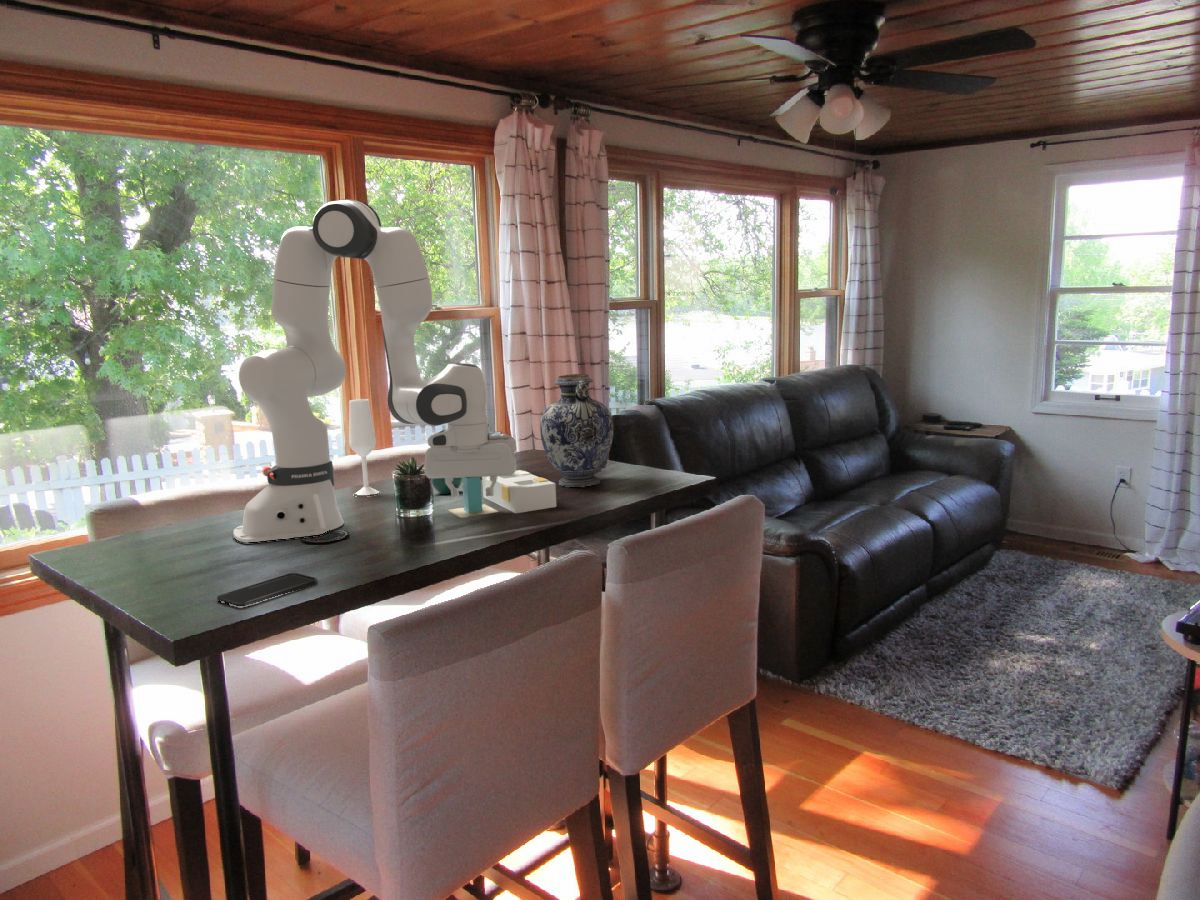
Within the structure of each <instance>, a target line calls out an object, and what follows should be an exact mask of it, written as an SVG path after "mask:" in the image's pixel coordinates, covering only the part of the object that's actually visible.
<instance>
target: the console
mask: <svg viewBox="0 0 1200 900" xmlns="http://www.w3.org/2000/svg"><path fill="white" fill-rule="evenodd" d="M492 482H493V481H490V477H482V478H481V483H482V484H481V485H482V496H483V498H485V499H486V500H488V501H490V502H492V503H494V504H496V505H498V506H501V507H503V508H504V509H506V510H508V511H510V512H512V513H514V514H520V513H526V512H532V511H533V512H534V511H537V510H538V511H539V510H546V509H551V508H556V507H557V494H556V493H557V492H556V490H557V489H556V483H555V482H553V481H550V480H549V479H547V478H544V477H539V476H537V475H535V474H532V473H531V472H528V471H526V470H522V469H519V470H517V469H516V471H515V473H514V474H513V475H512V476H498V480H497V482H496V484H495V485H494V487H493V491H494V495H493V496H486V488H487V487H490V486H491V484H492Z"/></svg>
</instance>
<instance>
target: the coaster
mask: <svg viewBox="0 0 1200 900" xmlns="http://www.w3.org/2000/svg"><path fill="white" fill-rule="evenodd" d="M447 511H448V512H450V513H452V514H454V515H455V516H457V517H458V518H461V519H463V518H469V517H475V516H482V515H488V514H494V513H499V512H500V511H498V510H497V509H495V508H493V507H491V506H489V505H488V504H486V503H485V504H483V503H482V511H480V512H473V513H468V512H466V511H464V506H463V507H457V508H451V509H447Z"/></svg>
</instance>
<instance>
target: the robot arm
mask: <svg viewBox="0 0 1200 900" xmlns="http://www.w3.org/2000/svg"><path fill="white" fill-rule="evenodd" d="M312 219H313V220H312V225H311V226H303V225H301V226H299V225H298V226H294V227H291V228H288V229H287V230H285V231H284V232H283V233H282V236H281V239H280V242H279V246H278V249H277V254H276V257H275V264H274V272H273V282H272V283H273V284H272V298H271V310H270V311H271V316H272V318H273V320H274V322H276V323H277V324H278V325H279V326H280V327H282V329H283V331H284V334H285V340H286V346H285V347H284V348H283V347H282V348H272V349H265V350H262V351H259V352H256V353H253V354H252V355H250V356H248V357H246V358H244V360H243V361H242V363H241V365H240V367H239V371H238V380H239V385H240V388H241V389H242V391H243V392H244V394H245V395H246V396H247V397H248V398H249V399H251V401H253V402H254V403H256V404H257V405H258V406H259V408H260V409H261V410H262V412H263V414H264V416H265V417H266V419H267V421H268V424H269V426H270V427H269V428H270V431H271V434H272V441H273V449H274V455H275V465H274V466H273V467H271V466H269V465H268V466H267V465H266V466H264V467H263V469H262V474H263V475H264V477H266V478H267V483H268V484H267V485H266V486H265V487H264V488H263V489H262V490H261V491H259V492H258V493H257V494H256V495H255V496H254V497H253V498H251V499H250V500H249V501H248V502H247V503H246V505H245V506H244V510H243V516H242V525H239V526H237V527H236V528H234V530H232V531H233V532H232V535H234V537H235V538H236V539H237V540H239V541H243V542H258V541H266V540H273V539H282V538H293V537H302V536H310V535H319V534H323V533H325V532H326V533H327V531H328V532H330V531H333V530H336V529H338V528H340V527H342V526H343V525H344V519H343V517H342V515H341V512H340V509H339V505H338V502H337V501H338V500H337V498H336V493H335V487H334V486H335V481H336V480H335V471H334V465H333V461H332V460H331V457H330V456H331V455H330V453H331V452H330V446H329V445H330V444H329V443H330V442H329V434H328V433H329V431H328V427H327V425H326V424H325V423H324V421H322V420H321V419H320V418H317V417H316V416H315V415H314V413H313V411H312V408H311V406H310V403H309V401H308V399H309V398H313V397H319V396H323V395H326V394H328V393H330V392H333V391H334V390H337V389H338V388H340V387H341V386H342V385H343V383H344V381H345V379H346V375H347V368H346V367H347V366H346V363H345V361H344V357H342V355H341V353H339V352H338V351H337V350H336V348H335V346H334V344H333V341H332V338H331V335H330V329H329V328H330V327H329V306H330V305H329V304H330V302H329V301H330V291H331V280H332V279H331V275H332V268H333V266H334V262H335V261H336V259H337V258H338V257H340V258H349V259H355V260H363V259H364V260H365V261H366V262H367V264H368V265H369V268H370V270H371V274H372V277H373V278H372V279H373V282H374V285H375V290H376V294H377V300H378V304H379V308H380V314H381V329H382V336H383V337H382V338H383V343H384V349H385V350H384V351H385V355H386V363H387V367H388V368H387V369H388V376H389V386H388V395H387V407H388V409H389V412H390V414H391V415H392V417H394V419H395V420H397V421H398V422H399V423H401V424H405V425H421V426H430V427H439V426H441V425H444V424H445V425H446V424H447V428H446V429H443V430H440V431H438V432H436V433H433V434H432V435H430V436H429V437H428V438H427V445H428V448H427V449H426V451H425V456H424V475H425V476H426V477H427V478H428V479H430V478H445V483H446V485H447V486H448V487H449V489H450V490H451V494H450V497H451V498H458V497H460V492H459V491H460V487H459V488H455V487H454V485H453V484H452V481H453V478H460V477H490V481H493V482H492V484H491V486H490V487H487V488H486V496H493V495H494V491H493V487H494V485H495V484H496V482H497V480H498V476H512V475H513V474H514V473H515V471H516V470H517V462H516V457H515V452H516V450H517V444H516V440H515V438H514V437H513V436H511V435H509V434H508V433H507V434H506V433H505V434H503V433H502V435H489V434H488V432H489V426H488V417H487V413H486V407H487V392H486V383H485V378H484V373H483V370H482V369H481V368H480V367H479V366H477V365H476V364H471V363H463V362H462V363H461V362H450V363H447V365H446V367H445V368H444V369H442V370H441V371H440V372H439V373H437V374H436V375H434V376H433V377H431V378H428V379H427V380H424V379H423V378H422V377H421V375H420V373H419V368H418V362H417V361H418V360H417V355H416V348H415V334H416V331H417V329H418V328H419V326H420V325H421V324H422V323H423V322H424V321H425V320H426V319H427V318H428V316H429V314H430V313H431V311H432V308H433V292H432V290H433V289H432V286H431V282H430V277H429V273H428V269H427V266H426V261H425V259H424V256H423V253H422V250H421V248H420V245H419V243H418V241H417V238H416V236H415V235H414V233H413V232H412V231H410V230H409V229H407V228H404V227H399V226H391V227H383V226H382V223H381V219H380V217H379V215H378V213H377V211H376V210H375V209H374V208H373V207H372V206H371V205H369V204H367V203H366V202H363V201H360V200H355V199H351V198H345V199H343V198H342V199H338V200H333V201H329V202H327V203H325V204H323V205H322V206H321V207H319V209H318V210H317V211H316V213H315V215H314V216H313V218H312ZM329 530H330V531H329ZM326 533H325V534H326ZM323 535H324V534H323ZM234 537H233V538H234ZM258 543H259V542H258Z"/></svg>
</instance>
